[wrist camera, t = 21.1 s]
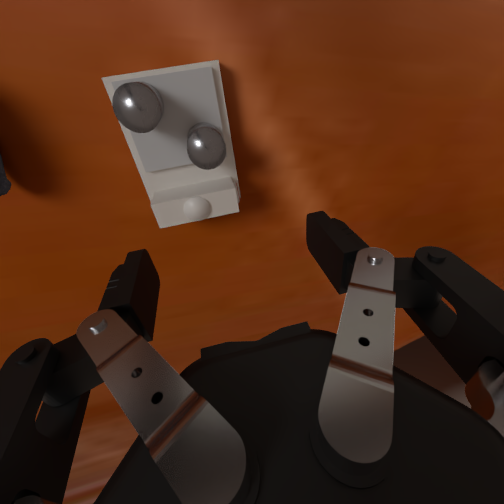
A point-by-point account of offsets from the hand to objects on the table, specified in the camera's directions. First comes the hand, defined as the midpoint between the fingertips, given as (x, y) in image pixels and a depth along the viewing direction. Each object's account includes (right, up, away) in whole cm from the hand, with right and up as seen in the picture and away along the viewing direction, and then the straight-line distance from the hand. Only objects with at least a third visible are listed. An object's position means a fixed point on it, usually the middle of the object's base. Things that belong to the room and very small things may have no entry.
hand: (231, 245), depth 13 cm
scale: (-9, +15, +22) cm, 28 cm away
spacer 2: (-5, +14, +20) cm, 25 cm away
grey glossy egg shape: (-11, +17, +16) cm, 26 cm away
